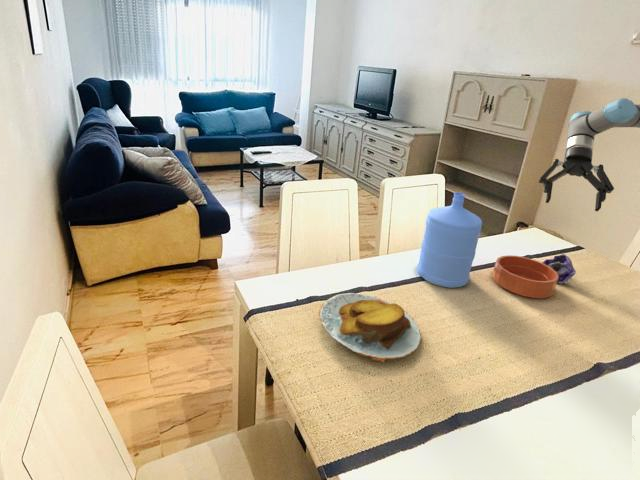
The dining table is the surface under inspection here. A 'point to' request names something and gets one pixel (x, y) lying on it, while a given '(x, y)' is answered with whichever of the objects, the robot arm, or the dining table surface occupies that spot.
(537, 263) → the pot
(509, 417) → the dining table surface
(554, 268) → the flower
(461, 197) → the water jug
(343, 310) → the food on plate
